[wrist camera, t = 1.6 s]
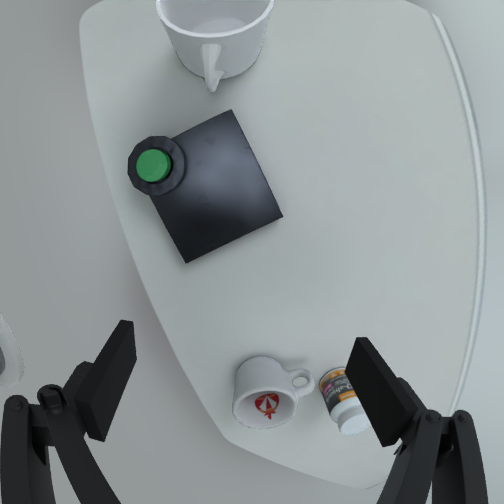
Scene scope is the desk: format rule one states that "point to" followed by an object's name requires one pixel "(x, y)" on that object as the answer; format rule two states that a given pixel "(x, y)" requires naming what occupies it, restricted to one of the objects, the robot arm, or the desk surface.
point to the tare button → (153, 165)
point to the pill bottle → (343, 403)
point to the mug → (216, 34)
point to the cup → (267, 393)
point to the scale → (207, 186)
